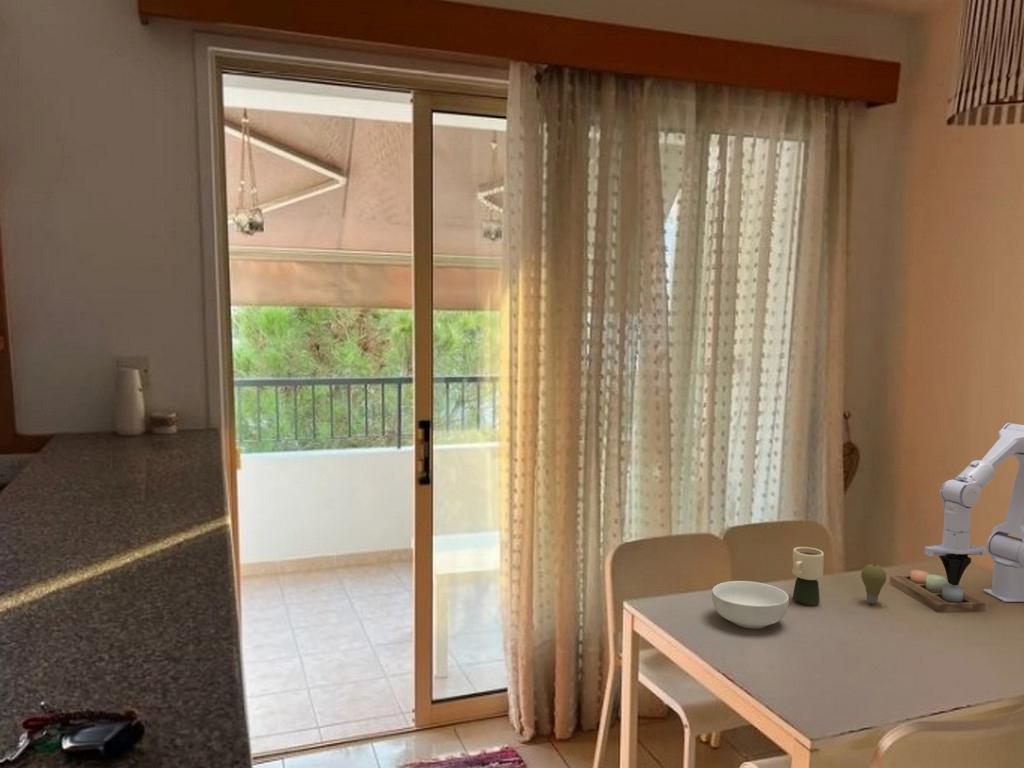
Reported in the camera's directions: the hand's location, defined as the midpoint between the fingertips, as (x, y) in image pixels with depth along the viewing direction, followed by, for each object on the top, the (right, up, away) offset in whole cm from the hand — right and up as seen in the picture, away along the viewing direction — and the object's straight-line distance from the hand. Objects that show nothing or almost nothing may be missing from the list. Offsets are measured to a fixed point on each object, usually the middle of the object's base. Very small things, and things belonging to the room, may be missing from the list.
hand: (953, 583), depth 187 cm
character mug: (-35, -5, +2) cm, 36 cm away
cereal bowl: (-53, -6, -10) cm, 55 cm away
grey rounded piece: (0, -4, 0) cm, 4 cm away
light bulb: (-19, -6, +1) cm, 20 cm away
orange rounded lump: (-1, -4, +13) cm, 14 cm away
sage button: (-1, -4, +7) cm, 8 cm away
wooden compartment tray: (-1, -5, +7) cm, 9 cm away
